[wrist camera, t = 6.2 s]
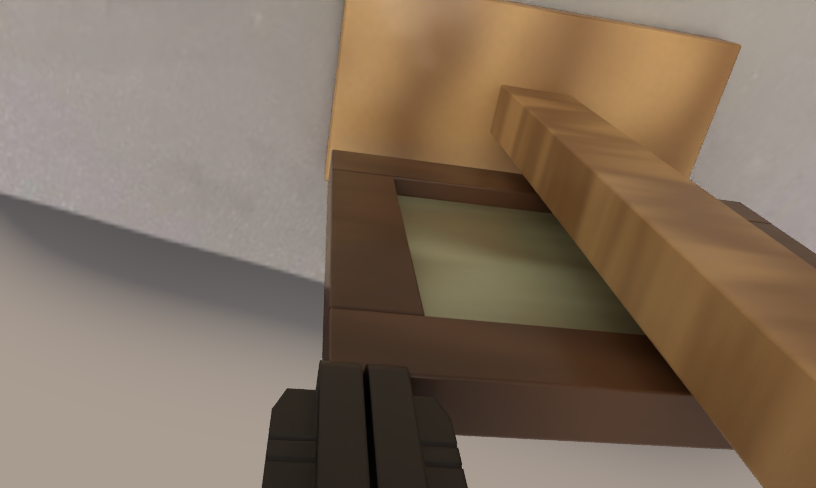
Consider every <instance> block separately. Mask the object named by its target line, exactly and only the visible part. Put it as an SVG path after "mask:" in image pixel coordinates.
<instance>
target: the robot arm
mask: <svg viewBox="0 0 816 488" xmlns="http://www.w3.org/2000/svg"><path fill="white" fill-rule="evenodd" d="M262 488H468V487H467V483H466V479H465V474H464V470H463V469H462V462H461V457H460V453H459V449H458V448H457V441H456V437H455V432H454V428H453V424H452V420H451V418H450V416H449V415H448V414H447V412H446V411H445V410H444V408H443V407H442V406H441V405H440V403H439V402H438V401H437V399H436V398H435V397H426V396H413V392H412V386H411V380H410V374H409V369H408V367H407V366H399V365H384V364H369V363H367V364H366V366H365V369H364V374H363V373H362V364H361V363H353V362H338V361H323V360H320V363H319V370H318V377H317V385H316V390H306V389H305V390H304V389H289V388H288V389H286V391H285V392H284V393H283V395H282V396H281V398H280V399H279V400H278V402H277V403H276V404H275V406H274V407H273V408H272V412H271V420H270V428H269V436H268V443H267V451H266V460H265V467H264V475H263V483H262Z"/></svg>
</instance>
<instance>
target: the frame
mask: <svg viewBox="0 0 816 488" xmlns="http://www.w3.org/2000/svg"><path fill="white" fill-rule="evenodd" d="M719 201H721V202H722V203H723V204H725V205H726V206H728V207H729V208H731V209H732V210H733V211H735V212H736V213H738V214H739V215H740V216H742V217H743V218H745V219H746V220H747V221H749V222H750V223H752V224H753V225H755V226H756V227H757V228H759V229H760V230H762V231H763V232H764V233H766V234H767V235H769V236H770V237H772V238H773V239H774V240H776V241H777V242H779V243H780V244H781V245H783V246H784V247H786V248H787V249H789V250H790V251H791V252H793V253H794V254H796V255H797V256H798V257H800V258H801V259H803V260H804V261H806V262H807V263H808V264H810V265H811V266H813V267H814V268H815V269H816V254H815V253H814V252H812V251H811V250H809V249H808V248H806V247H805V246H803V245H802V244H800V243H799V242H797V241H796V240H794V239H793V238H791V237H790V236H789V235H787V234H786V233H784V232H783V231H781V230H780V229H778V228H777V227H775V226H774V225H772V224H771V223H770V222H768V221H767V220H765V219H764V218H762V217H761V216H759V215H758V214H757V213H755V212H754V211H752V210H751V209H749V208H748V207H746V206H745V205H743V204H742V203H740V202H733V201H726V200H719ZM323 321H324V322H323V352H322V355H323V356H322V358H323V359H322V360H323V361H338V362H353V363H361V364H362V373H363V374H364V369H365V366H366V364H367V363H369V364H384V365H399V366H407V367H408V369H409V374H410V380H411V386H412V392H413V396H426V397H435V398H436V399H437V401H438V402H439V403H440V405H441V406H442V407H443V408H444V410H445V411H446V412H447V414H448V415H449V416H450V418H451V420H452V424H453V428H454V432H455V435H463V436H482V437H501V438H520V439H539V440H558V441H577V442H596V443H616V444H635V445H653V446H673V447H692V448H711V449H730V450H734V449H733V448H732V446H731V445H730V444H729V442H728V441H727V440H726V438H725V437H724V436H723V434H722V433H721V432H720V431H719V429H718V428H717V427H716V425H715V424H714V423H713V421H712V420H711V419H710V418H709V416H708V415H707V414H706V412H705V411H704V410H703V408H702V407H701V406H700V405H699V403H698V402H697V401H696V399H695V398H694V397H693V395H692V394H691V393H690V392H689V390H688V389H687V388H686V386H685V385H684V384H683V382H682V381H681V380H680V379H679V377H678V376H677V375H676V373H675V372H674V371H673V369H672V368H671V367H670V365H669V364H668V363H667V362H666V360H665V359H664V358H663V356H662V355H661V354H660V352H659V351H658V350H657V349H656V347H655V346H654V345H653V343H652V342H651V341H650V339H649V338H648V337H647V336H646V334H645V333H644V332H643V330H642V329H641V328H640V326H639V325H638V324H637V323H636V321H635V320H634V319H633V317H632V316H631V315H630V313H629V312H628V311H627V309H626V308H625V307H624V306H623V304H622V303H621V302H620V300H619V299H618V298H617V296H616V295H615V294H614V293H613V291H612V290H611V289H610V287H609V286H608V285H607V283H606V282H605V281H604V280H603V278H602V277H601V276H600V274H599V273H598V272H597V270H596V269H595V268H594V267H593V265H592V264H591V263H590V261H589V260H588V259H587V257H586V256H585V255H584V253H583V252H582V251H581V250H580V248H579V247H578V246H577V244H576V243H575V242H574V240H573V239H572V238H571V237H570V235H569V234H568V233H567V231H566V230H565V229H564V227H563V226H562V225H561V224H560V222H559V221H558V220H557V218H556V217H555V216H554V214H553V213H552V212H551V211H550V209H549V208H548V207H547V205H546V204H545V203H544V201H543V200H542V199H541V197H540V196H539V195H538V194H537V192H536V191H535V190H534V188H533V187H532V186H531V184H530V183H529V182H528V181H527V179H526V178H525V177H524V175H523V174H518V173H511V172H503V171H495V170H488V169H480V168H472V167H465V166H457V165H449V164H442V163H434V162H426V161H419V160H411V159H403V158H396V157H388V156H380V155H373V154H365V153H357V152H350V151H342V150H332V154H331V162H330V171H329V179H328V194H327V225H326V257H325V289H324V320H323Z"/></svg>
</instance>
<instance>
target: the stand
mask: <svg viewBox="0 0 816 488" xmlns="http://www.w3.org/2000/svg"><path fill="white" fill-rule="evenodd" d="M740 49H741V45H739V44H736V43H733V42H729V41H726V40H722V39H717V38H711V37H706V36H700V35H695V34H689V33H684V32H678V31H673V30H667V29H661V28H656V27H650V26H645V25H639V24H634V23H628V22H623V21H617V20H612V19H606V18H600V17H595V16H589V15H584V14H578V13H573V12H567V11H562V10H556V9H551V8H545V7H539V6H534V5H528V4H523V3H517V2H512V1H506V0H344V9H343V17H342V26H341V35H340V43H339V52H338V60H337V69H336V77H335V86H334V94H333V103H332V111H331V120H330V128H329V137H328V146H327V154H326V163H325V180H326V181H328V179H329V171H330V162H331V154H332V150H342V151H350V152H357V153H365V154H373V155H380V156H388V157H396V158H403V159H411V160H419V161H426V162H434V163H442V164H449V165H457V166H465V167H472V168H480V169H488V170H495V171H503V172H511V173H518V174H523V175H524V177H525V178H526V179H527V181H528V182H529V183H530V184H531V186H532V187H533V188H534V190H535V191H536V192H537V194H538V195H539V196H540V197H541V199H542V200H543V201H544V203H545V204H546V205H547V207H548V208H549V209H550V211H551V212H552V213H553V214H554V216H555V217H556V218H557V220H558V221H559V222H560V224H561V225H562V226H563V227H564V229H565V230H566V231H567V233H568V234H569V235H570V237H571V238H572V239H573V240H574V242H575V243H576V244H577V246H578V247H579V248H580V250H581V251H582V252H583V253H584V255H585V256H586V257H587V259H588V260H589V261H590V263H591V264H592V265H593V267H594V268H595V269H596V270H597V272H598V273H599V274H600V276H601V277H602V278H603V280H604V281H605V282H606V283H607V285H608V286H609V287H610V289H611V290H612V291H613V293H614V294H615V295H616V296H617V298H618V299H619V300H620V302H621V303H622V304H623V306H624V307H625V308H626V309H627V311H628V312H629V313H630V315H631V316H632V317H633V319H634V320H635V321H636V323H637V324H638V325H639V326H640V328H641V329H642V330H643V332H644V333H645V334H646V336H647V337H648V338H649V339H650V341H651V342H652V343H653V345H654V346H655V347H656V349H657V350H658V351H659V352H660V354H661V355H662V356H663V358H664V359H665V360H666V362H667V363H668V364H669V365H670V367H671V368H672V369H673V371H674V372H675V373H676V375H677V376H678V377H679V379H680V380H681V381H682V382H683V384H684V385H685V386H686V388H687V389H688V390H689V392H690V393H691V394H692V395H693V397H694V398H695V399H696V401H697V402H698V403H699V405H700V406H701V407H702V408H703V410H704V411H705V412H706V414H707V415H708V416H709V418H710V419H711V420H712V421H713V423H714V424H715V425H716V427H717V428H718V429H719V431H720V432H721V433H722V434H723V436H724V437H725V438H726V440H727V441H728V442H729V444H730V445H731V446H732V448H733V449H734V450H735V451H736V453H737V454H738V455H739V457H740V458H741V459H742V460H743V462H744V463H745V464H746V466H747V467H748V468H749V470H750V471H751V472H752V474H753V475H754V476H755V477H756V479H757V480H758V481H759V483H760V484H761V485H762V487H763V488H816V269H815V268H814V267H813V266H811V265H810V264H808V263H807V262H806V261H804V260H803V259H801V258H800V257H798V256H797V255H796V254H794V253H793V252H791V251H790V250H789V249H787V248H786V247H784V246H783V245H781V244H780V243H779V242H777V241H776V240H774V239H773V238H772V237H770V236H769V235H767V234H766V233H764V232H763V231H762V230H760V229H759V228H757V227H756V226H755V225H753V224H752V223H750V222H749V221H747V220H746V219H745V218H743V217H742V216H740V215H739V214H738V213H736V212H735V211H733V210H732V209H731V208H729V207H728V206H726V205H725V204H723V203H722V202H721V201H719V200H718V199H716V198H715V197H714V196H712V195H711V194H709V193H708V192H706V191H705V190H704V189H702V188H701V187H699V186H698V185H697V184H695V183H694V182H692V181H691V180H689V176H690V174H691V171H692V169H693V166H694V164H695V161H696V159H697V156H698V154H699V151H700V149H701V146H702V144H703V141H704V139H705V136H706V134H707V131H708V129H709V126H710V124H711V121H712V119H713V116H714V114H715V111H716V109H717V106H718V104H719V101H720V99H721V96H722V94H723V91H724V89H725V86H726V84H727V81H728V79H729V76H730V74H731V71H732V69H733V66H734V64H735V61H736V59H737V56H738V54H739V51H740Z"/></svg>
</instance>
